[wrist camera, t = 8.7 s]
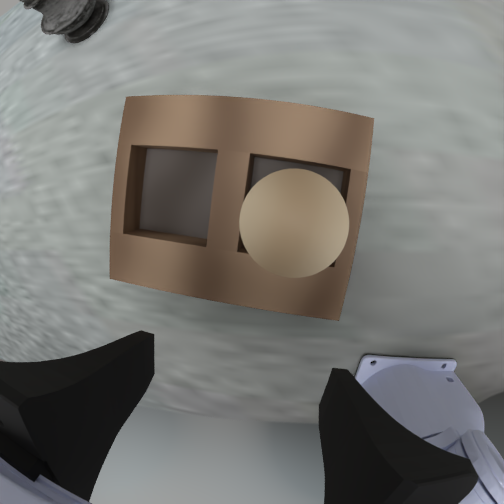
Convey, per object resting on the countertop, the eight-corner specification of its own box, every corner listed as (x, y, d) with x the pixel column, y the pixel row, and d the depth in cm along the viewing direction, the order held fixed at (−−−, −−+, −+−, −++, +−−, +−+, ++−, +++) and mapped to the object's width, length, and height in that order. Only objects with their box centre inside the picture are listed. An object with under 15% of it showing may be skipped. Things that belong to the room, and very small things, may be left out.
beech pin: (330, 184, 18) (358, 181, 10) (317, 246, 19) (335, 287, 11) (267, 171, 18) (249, 159, 10) (255, 233, 19) (231, 265, 11)
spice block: (360, 129, 18) (374, 118, 15) (331, 300, 21) (338, 320, 17) (149, 108, 19) (126, 96, 16) (133, 265, 22) (109, 278, 19)
